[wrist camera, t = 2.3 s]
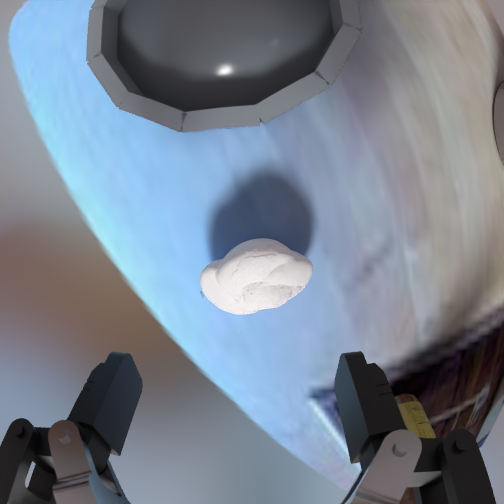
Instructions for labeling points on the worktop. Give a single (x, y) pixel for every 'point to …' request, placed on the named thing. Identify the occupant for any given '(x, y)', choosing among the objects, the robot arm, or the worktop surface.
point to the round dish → (218, 57)
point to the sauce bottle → (413, 429)
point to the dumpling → (255, 277)
